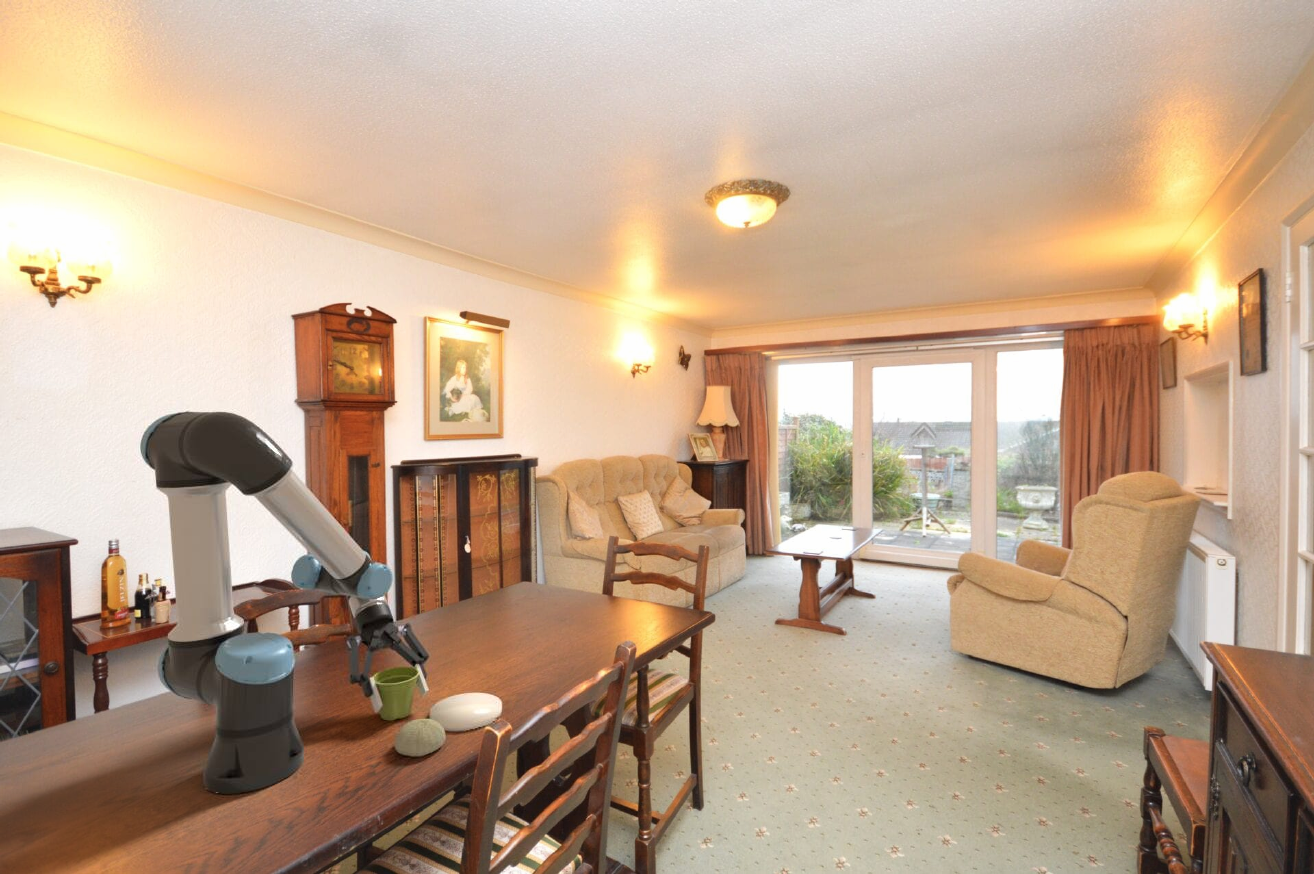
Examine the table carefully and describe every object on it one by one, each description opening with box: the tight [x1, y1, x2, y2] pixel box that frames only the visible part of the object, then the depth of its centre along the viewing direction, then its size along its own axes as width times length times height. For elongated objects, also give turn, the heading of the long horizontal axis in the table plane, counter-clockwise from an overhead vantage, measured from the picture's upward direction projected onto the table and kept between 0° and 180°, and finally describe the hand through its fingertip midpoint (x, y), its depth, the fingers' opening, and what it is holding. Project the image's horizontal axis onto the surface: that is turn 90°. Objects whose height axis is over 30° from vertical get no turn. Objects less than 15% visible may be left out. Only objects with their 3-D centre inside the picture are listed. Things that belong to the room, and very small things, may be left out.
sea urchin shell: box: [394, 718, 447, 758], centre depth 119 cm, size 9×8×8 cm
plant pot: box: [372, 666, 419, 722], centre depth 132 cm, size 9×9×9 cm
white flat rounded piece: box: [429, 692, 503, 732], centre depth 132 cm, size 15×15×2 cm
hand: (402, 701), depth 130 cm, fingers closed on plant pot, 9 cm apart
